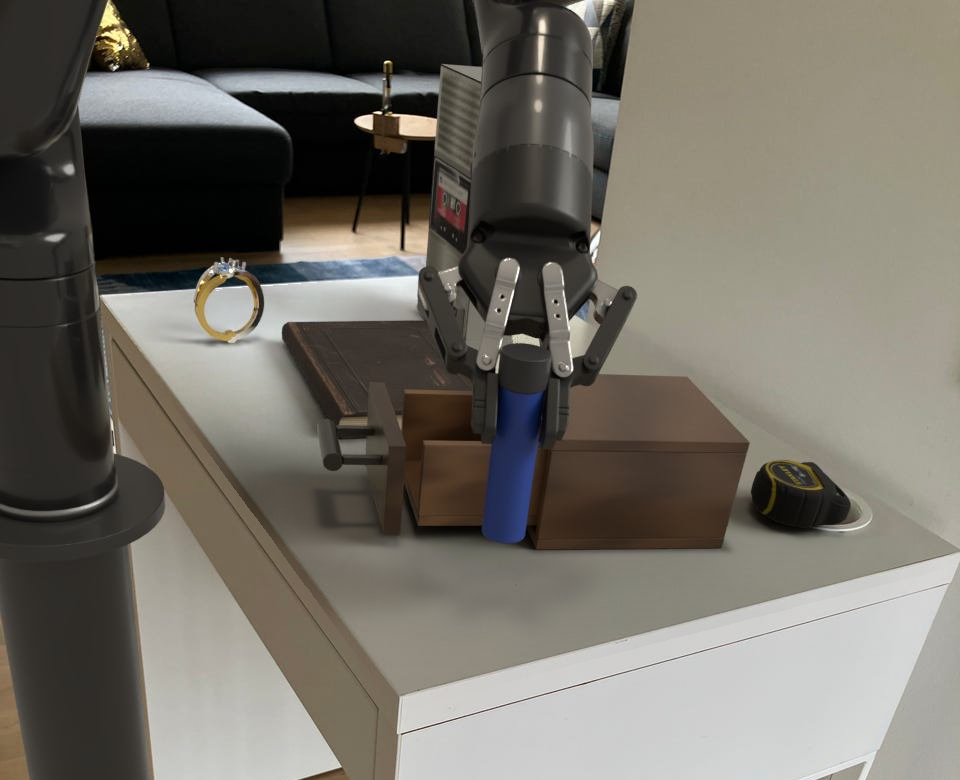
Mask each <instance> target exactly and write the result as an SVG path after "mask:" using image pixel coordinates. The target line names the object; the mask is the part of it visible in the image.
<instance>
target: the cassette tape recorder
mask: <svg viewBox="0 0 960 780" xmlns="http://www.w3.org/2000/svg"><path fill="white" fill-rule="evenodd" d="M481 75H482V66H472V65H460V64H459V65H458V64H445V63H441V64H440V74H439V87H438V99H437V100H438V101H437V113H436V126H435V137H434V138H435V139H434V155H433V165H432V175H431V177H432V178H431V189H430V190H431V193H430V204H429V205H430V206H429V217H428V233H427V246H426V257H425V259H426V260H425V267H433V268H435V269H436V270H437V272H439V271H443V270H446V269H449V268H453V267H456V266H458V263H459V260H460V258H461V256H462V255H463V253H464V252H465V250H466V248H467V240H468V224H469V207H470V191H471V175H470V166H471V162H472V157H473V143H474V136H475V130H476V125H477V121H478V116H479V108H480V92H481ZM456 292H457V295H456V302H455V305H454V307H453V308H452V309H453V312H454V314H455V317H456V319H457V322H458V324H459V327H460V329H461V332H462V334H463V337H464V339H465V342H466V344H467V346H469V347H472V348H474V349H476V350H478V351H479V347H480V343H481V339H482V335H483V330H484V326H485V322H484V320H483V319H482V317H481V316H480V314H479V313H478V311H477V310H476V308H475V307H474V305H473V304H472V303H471V301H470V300H469V298H468V297H467V295H466V294H465V292H464V291H463V289H462V288H461V287H460V288H458V289H457V290H456ZM416 306H417V307H416V310H417V311H418V312H419V313H420V314H421V315H422V316H423V317H424V318H425V316H424V313H423V311H422V308H421V306H420V303H419V300H418V299H417V305H416ZM513 343H514V340H513V335H512V336H505V335H504V336H503V340H502V344H501V348H502V347H503V346H505V345H507V344H513ZM501 348H500V350H501Z"/></svg>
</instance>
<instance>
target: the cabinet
mask: <svg viewBox="0 0 960 780" xmlns="http://www.w3.org/2000/svg"><path fill="white" fill-rule="evenodd" d="M541 424H542V417H541ZM541 424H540V431H541ZM750 444H751V442H750V441H749V439H748V438H746V437H745V436H744V434H743V433H742V432H741V431H740V430H739V429H738V428H737V427H736V426H735V425H734V424H733V423H732V422H731V421H730V420H729V419H728V418H727V417H726V415H724V413H722V411H720V409H719V408H718V407H717V406H716V405H715V404H714V403H713V402H712V401H711V399H709V398H708V396H706V395H705V394H704V393H703V392H702V390H700V388H699V387H698V386H697V385H696V384H695V383H694V382H693V381H692V380H691V379H690V378H689V377H688V376H682V375H681V376H677V375H647V374H646V375H645V374H609V373H599V374H598V376H597V378H596V380H595V382H594V383H593V384H592V385H590V386H582V385H577V386H574V387H572V388H570V406H569V425H568V427H567V429H566V432H565V434H564V436H563V438H562V440H561V441H558V440H556V443H555V445H554V447H553V449H548V455H547V461H546V468H545V474H544V481H543V487H542V494H541V501H540V507H539V514H538V520H537V525H526V531H527V533H528V535H529V538H530V539H531V541H532V543H533V546H534V548H535V549H536V550H623V549H625V550H629V549H631V550H632V549H633V550H634V549H635V550H637V549H643V550H644V549H647V550H648V549H721V548H723V545H724V541H725V536H726V533H727V529H728V526H729V522H730V518H731V514H732V509H733V506H734V503H735V499H736V495H737V492H738V489H739V484H740V480H741V477H742V473H743V469H744V466H745V462H746V458H747V453H748V451H749V448H750Z"/></svg>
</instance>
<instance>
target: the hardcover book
mask: <svg viewBox="0 0 960 780" xmlns="http://www.w3.org/2000/svg"><path fill="white" fill-rule="evenodd" d="M281 340H282V342H283V344H284V345H285V347H286V349H287V350H288V351H289V353H290V355H291V357H292V358H293V360H294V362H295V364H296V365H297V368H298V369H299V370H300V372H301V374H302V375H303V377H304V379H305V380H306V382H307V384H308V385H309V387H310V389H311V391H312V393H313V394H314V396H315V397H316V399H317V401H318V403H319V405H320V407H321V408H322V410H323V412H324V413H325V414H326V416H327V419H330V420H332V421H333V422H334V423H335V426H336V425H361V426H367V417H368V396H369V382H385V385H386V388H387V391H388V394H389V397H390V400H391V403H392V406H393V409H394V412H395V414H396V417H397V420H398V423H399V426H400V429H401V423H402V408H403V393H404V389H410V390H450V391H473V385H472V382H471V381H470V379H469V378H467V377H466V376H464V375H461V374H450V373H449V372H447V371H446V369H445V367H444V364H443V362H442V359H441V357H440V354H439V351H438V349H437V346H436V344H435V341H434V339H433V336H432V334H431V331H430V329H429V326H428V323H427V321H426V319H418V320H417V319H416V320H415V319H414V320H413V319H411V320H410V319H408V320H337V321H336V320H335V321H334V320H333V321H332V320H331V321H329V320H327V321H324V320H322V321H321V320H320V321H319V320H318V321H287V322H285V323H284V324H283V325H282V327H281ZM338 437H340V438H341V439H344V440H346V439H347V440H348V439H366V438H367V436H346V435H338Z"/></svg>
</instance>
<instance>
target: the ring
mask: <svg viewBox="0 0 960 780" xmlns="http://www.w3.org/2000/svg"><path fill="white" fill-rule="evenodd" d="M239 264H240V260H239V259H233V258H231V257H229V258H228V262H225V257H220V262H218V261H215V262H214V263H213V265H212V266H210V267H209V268H207V269H206V270H205V271H204V272H203V273H202V274H201V275H200V278H199V279H198V281H197V284H196V287H195V291H194V295H193V311H194V315H195V318H196V320H197V322H198V323H199V326H201V328H202V329H203V330H204V331H205V333H207V334H208V335H209V336H210V337H212V338H214V339H216V340H218V341H224V342H227V343H228V344H234V343H236V342H237V341H238V340H242V339H243V338H246V337H247V336H249V335H250V334H251V333H252V332H253V331H254V330H255V329H256V327H257V326H258V325H259V323H260V322H261V320H262V318H263V314H264V309H265V297H264V296H265V295H264V291H263V288H262V285H261V284H260V281H259V280H258V278H257V277H256V276H255V275H254V274H253V273H251V272H249V270H246V265H247V262H246V261H242V264H241V266H240V265H239ZM215 274H216V276H214V275H215ZM213 276H214V277H213ZM233 277H235V278H237V279H238V280H241V281H242V282H243V283H245V284H246V285H247V287H248V289H249V290H250V292H251V294H252V299H253V310H252V314H251V316H250V318H249V320H248V322H247V323H246V324H244V326H243V327H241V328H239V329H237V330H234V331H233V330H232V329H226V330H225V331H224V332H223V331H222V332H221V331H218V330H216V329H214V328H212V327H211V326H210V325H209V323H208V321H207V318H206V315H205V306H206V302H207V301H208V298H209V297H210V295H211V294H212V293H213V292H214V291H215V290H216V288H218V287H219V286H220V285H222V284H224V283H225V282H226V281H227V279H230V278H233Z"/></svg>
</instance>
